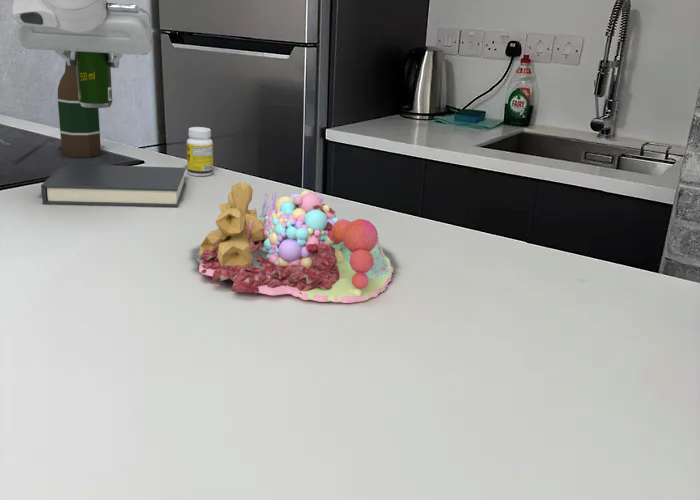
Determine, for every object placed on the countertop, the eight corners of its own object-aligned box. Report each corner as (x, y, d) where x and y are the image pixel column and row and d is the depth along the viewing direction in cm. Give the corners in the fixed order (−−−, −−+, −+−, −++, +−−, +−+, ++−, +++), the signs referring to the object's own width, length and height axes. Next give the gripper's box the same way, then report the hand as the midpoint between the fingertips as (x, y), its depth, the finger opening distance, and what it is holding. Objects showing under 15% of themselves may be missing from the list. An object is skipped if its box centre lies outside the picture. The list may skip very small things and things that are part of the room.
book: (42, 204, 104) (40, 185, 103) (65, 180, 117) (64, 163, 116) (177, 207, 107) (177, 188, 106) (185, 184, 120) (185, 167, 119)
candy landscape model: (178, 297, 76) (176, 218, 72) (211, 230, 98) (211, 167, 95) (401, 308, 77) (409, 230, 74) (384, 239, 99) (390, 177, 96)
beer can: (113, 103, 119) (109, 31, 115) (111, 108, 114) (107, 33, 110) (80, 103, 117) (75, 30, 113) (77, 107, 113) (71, 31, 108)
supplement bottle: (188, 170, 130) (188, 125, 127) (214, 171, 130) (214, 127, 127) (185, 176, 125) (185, 130, 122) (211, 177, 126) (211, 131, 123)
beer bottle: (54, 151, 136) (44, 25, 128) (93, 148, 141) (85, 27, 133) (69, 159, 131) (59, 29, 123) (109, 156, 136) (102, 30, 128)
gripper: (149, -10, 104) (159, 52, 117) (7, -19, 101) (32, 45, 114) (146, 22, 102) (156, 81, 114) (0, 14, 99) (27, 75, 111)
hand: (93, 63), depth 114 cm, fingers closed on beer can, 5 cm apart
